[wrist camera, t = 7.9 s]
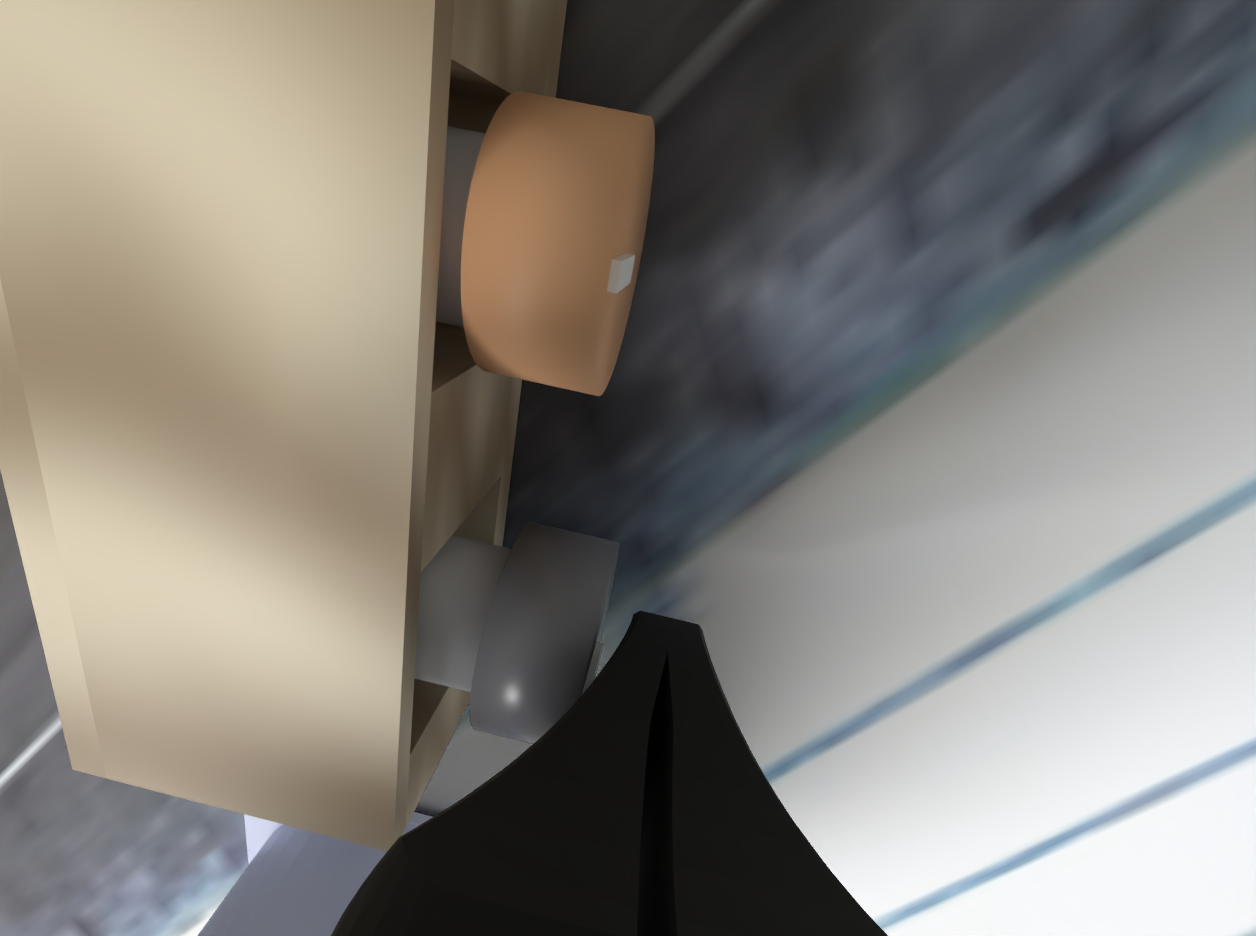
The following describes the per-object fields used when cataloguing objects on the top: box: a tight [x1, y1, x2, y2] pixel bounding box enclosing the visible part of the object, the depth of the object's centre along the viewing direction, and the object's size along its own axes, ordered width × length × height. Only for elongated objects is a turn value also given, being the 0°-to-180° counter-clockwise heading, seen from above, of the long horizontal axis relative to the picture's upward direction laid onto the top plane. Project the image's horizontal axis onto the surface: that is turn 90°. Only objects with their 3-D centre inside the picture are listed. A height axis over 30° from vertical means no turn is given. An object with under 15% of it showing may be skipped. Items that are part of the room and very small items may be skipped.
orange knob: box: [436, 91, 655, 396], centre depth 10 cm, size 7×4×4 cm, turn 80°
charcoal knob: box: [414, 522, 620, 744], centre depth 12 cm, size 7×4×4 cm, turn 79°
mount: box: [0, 0, 567, 851], centre depth 11 cm, size 15×6×5 cm, turn 169°
